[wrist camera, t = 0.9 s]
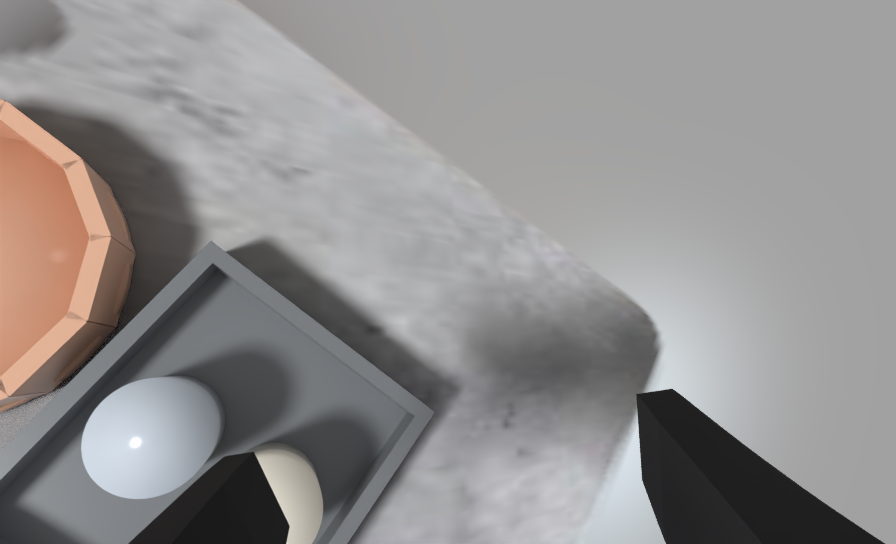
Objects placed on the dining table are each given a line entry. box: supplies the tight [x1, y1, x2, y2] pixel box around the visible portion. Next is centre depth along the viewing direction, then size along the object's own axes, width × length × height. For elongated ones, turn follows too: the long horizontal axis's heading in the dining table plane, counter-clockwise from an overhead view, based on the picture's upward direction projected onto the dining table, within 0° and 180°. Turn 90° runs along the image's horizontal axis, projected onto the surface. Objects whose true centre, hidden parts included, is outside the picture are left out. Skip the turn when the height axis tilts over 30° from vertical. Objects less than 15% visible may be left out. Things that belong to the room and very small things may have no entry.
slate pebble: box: [81, 375, 226, 499], centre depth 16 cm, size 4×4×3 cm
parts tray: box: [0, 241, 435, 544], centre depth 17 cm, size 12×11×2 cm
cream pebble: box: [244, 443, 323, 544], centre depth 17 cm, size 4×4×3 cm
